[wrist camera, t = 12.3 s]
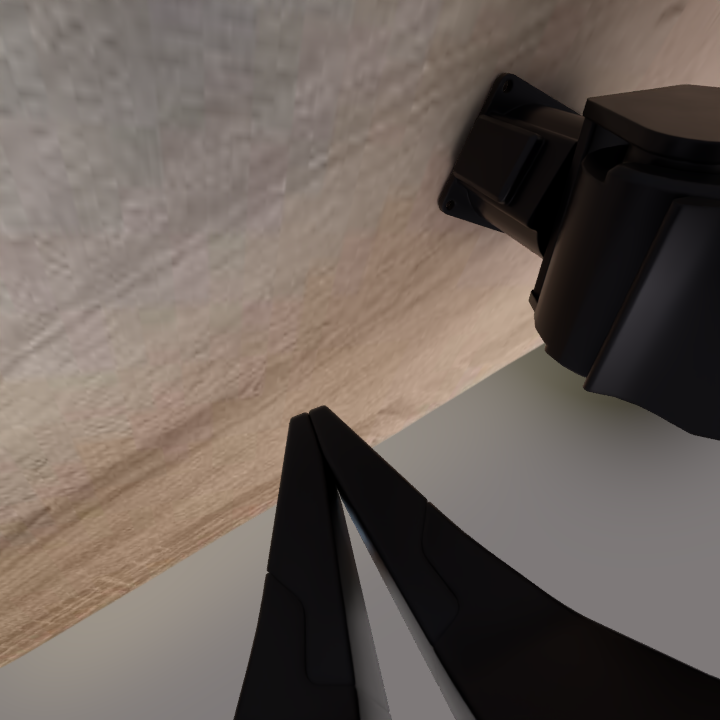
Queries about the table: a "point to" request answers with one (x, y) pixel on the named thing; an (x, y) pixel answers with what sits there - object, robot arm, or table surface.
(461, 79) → the table surface
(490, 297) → the table surface
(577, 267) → the robot arm
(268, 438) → the table surface
